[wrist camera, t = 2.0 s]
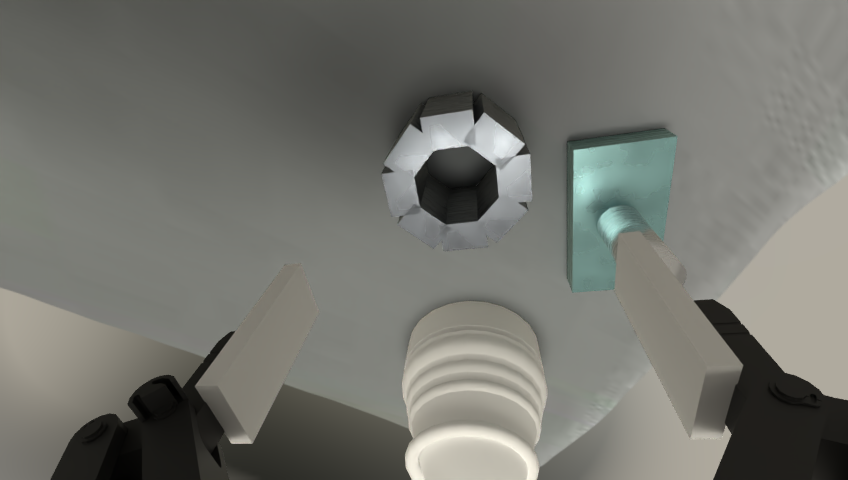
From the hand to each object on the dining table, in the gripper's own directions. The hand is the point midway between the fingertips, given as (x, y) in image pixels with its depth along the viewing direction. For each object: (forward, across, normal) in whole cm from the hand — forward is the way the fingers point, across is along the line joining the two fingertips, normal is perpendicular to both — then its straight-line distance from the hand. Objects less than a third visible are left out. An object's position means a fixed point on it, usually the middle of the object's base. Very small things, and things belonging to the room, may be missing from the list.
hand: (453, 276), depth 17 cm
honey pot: (+16, -1, -20) cm, 25 cm away
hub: (+15, 0, 0) cm, 15 cm away
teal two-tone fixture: (+15, +11, -6) cm, 20 cm away
